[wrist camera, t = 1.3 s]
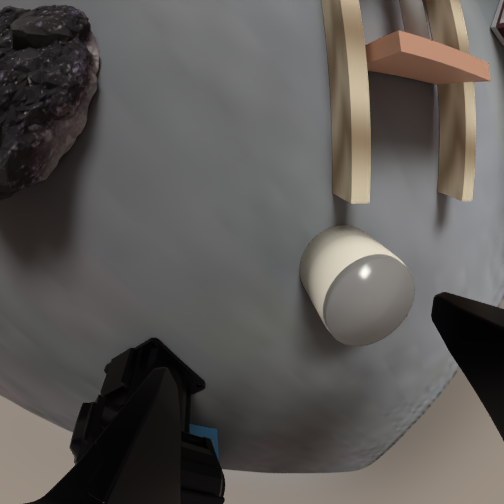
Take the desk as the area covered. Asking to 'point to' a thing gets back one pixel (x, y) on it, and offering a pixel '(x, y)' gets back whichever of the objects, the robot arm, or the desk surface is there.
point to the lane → (358, 104)
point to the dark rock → (42, 89)
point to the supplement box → (499, 22)
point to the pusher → (422, 53)
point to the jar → (356, 285)
